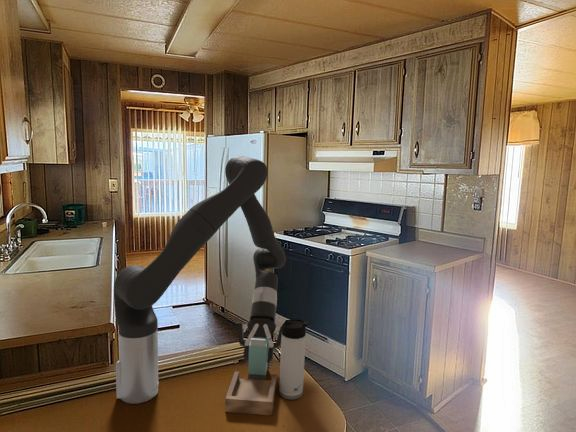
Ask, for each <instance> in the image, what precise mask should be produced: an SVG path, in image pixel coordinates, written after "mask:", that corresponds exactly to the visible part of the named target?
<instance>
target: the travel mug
mask: <svg viewBox="0 0 576 432" xmlns="http://www.w3.org/2000/svg"><path fill="white" fill-rule="evenodd" d="M308 323H309V322H308V321H305V320H303V319H300V318H292V319H287V320H286V321H284V322H283V323H282V325H281V326H282V337H281V346H280V361H279V363H280V364H279V385H278V386H279V389H278V393H279V395H280V396H281V397H282V398H284V399H286V400H297V399H299V398H301V397H302V396H303V395H304V393H303V392H304V375H305V360H306V359H305V356H306V354H305V353H306V339H307V338H306V331H307V327H308V325H309V324H308Z"/></svg>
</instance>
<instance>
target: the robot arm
mask: <svg viewBox="0 0 576 432" xmlns="http://www.w3.org/2000/svg"><path fill="white" fill-rule="evenodd" d="M224 170H225V171H224V173H225V177H226V180H227V183H228V185H226V187H225V188H224V189H222V190H221V191H219V192H217V193H215V194H214V195H211V196H209V197H207V198H205V199H203V200H201V201H199V202H198V203H195V204H194V205H193V206H192V207H191V208H190V209H188V210H187V211H186V212H185V214H184V215H182V216H181V218H180V219H179V220H178V221H177V222H176V224H175V225H174V226H173V228H172V231H171V232H170V235H169V237H168V239H167V241H166V244H165V246H164V248H163V249H162V251H161V252H160V253H159V254H158V256H157V257H155V259H154V260H152V262H151V263H150V264H148V266H146V267H144V266H141V265H138V264H134V265H133V264H131V265H128V266H126V267H124V268H123V269H121V270H120V271H119V272H118V274H117V275H116V277H115V280H114V283H113V300H114V301H113V303H114V316H115V321H116V323H117V329H118V330H117V331H118V360H117V361H116V362H115V383H116V384H115V385H116V386H115V387H116V389H115V390H116V399H119V400H121V401H123V402H124V403H126V404H132V405H134V404H142V403H145V402H148V401H150V400H153V398H154V397H156V396H157V395H158V394H159V393H158V392H159V337H158V336H159V333H158V332H159V331H158V330H159V326H158V325H159V323H158V317H157V315H156V313H155V310H154V308H153V305H155V304H156V303H157V302H158V301H159V300H160V298H161V297H162V296H163V295H164V294H165V293H166V291H167V289H168V288H170V286H171V284H172V283H173V282H174V280H175V279H176V277H177V276H178V275H179V274H180V273H181V271H182V270H183V269H184V268H185V266H186V265H188V263H189V262H190V261H191V260H192V259H193V258H194V257H195V255H196V254H197V253H198V252H199V251H200V250H201V249H202V248H203V247H204V246H205V245H206V244H207V243H208V241H210V240H211V239H212V237H213V236H214V235H215V234H216V233H217V232H218V230H220V228H221V227H222V226H223V225H224V224H225V223H226V221H228V220H229V219H230V218H231V216H233V215H234V213H236V211H237V210H238V209H239V208H240V209H241V212H242V214H243V215H244V218H245V220H246V223H247V226H248V230H249V232H250V235H251V236H250V237H251V238H252V243H253V244H254V246H255V247H256V248H257V249H256V250H255V251H254V253H253V255H252V258H253V266H254V271H255V272H254V273H255V283H254V290H253V295H252V300H251V301H252V302H251V306H250V307H251V308H250V315H249V321H248V322H247V323H244V324H243V323H241V322H239V323H238V324H237V325H238V326H237V327H238V329H237V330H238V331H237V332H238V333H237V335H238V343H239V346H241V347H243V348H244V349H243V355H242V356H243V360H245V362H246V363H249V344H250V341H251V338H253V337H267V340H268V357H267V363H268V364H271V362H273V358H274V351H275V350H276V349H281V337H282V325H281V326H278V325H276V315H277V305H278V304H277V303H278V302H277V301H278V284H279V277H278V275H277V274H276V273H275V272H272V271H267V270H275V269H281V268H283V267H284V266H285V264H286V261H287V258H286V257H287V256H286V253H285V250H284V249H283V247H282V246H281V244H280V242H279V241H278V239H277V238H276V236H275V233H274V229H273V226H272V223H271V220H270V218H269V216H268V213H267V212H266V210H265V209H264V207H263V206H262V205H261V203H260V201H259V200H258V198H257V196H256V193H257V192H258V191H259V190H260V189H261V188H262V187H263V186H264V184H265V183H266V180H267V177H268V174H269V173H268V167H267V165H266V164H265V162H264V161H263V160H260V159H258V158H253V157H249V156H244V155H243V156H240V155H235V156H233V157H231V158H230V159H229V160H228V161H227V163H226V165H225V169H224ZM247 329H248V331H249V332H250V333H249V334H248V336H247V339H246V340H244V339H245V338H244V333H246V330H247ZM275 331H276V334H277V338H276V341H275V342H273V339H272V334H273V333H274V332H275Z"/></svg>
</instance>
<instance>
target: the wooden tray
mask: <svg viewBox="0 0 576 432" xmlns="http://www.w3.org/2000/svg"><path fill="white" fill-rule="evenodd" d="M277 376H278V375H277V374H275V373H272V374H271V379H270V380H266V379H265V380H253V379H248V378H240V371H238V370H236V371H234V372H233V375H232V379H231V382H230V385H229V387H228V391H227V393H226V394H225V395H226V396H225V399H224V400H225V401H224V402H225V403H224V406H225V407H224V413H237V414H251V415H264V416H273V409H274V404H275V396H276V391H277V390H276V389H277Z"/></svg>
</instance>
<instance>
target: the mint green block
mask: <svg viewBox="0 0 576 432" xmlns="http://www.w3.org/2000/svg"><path fill="white" fill-rule="evenodd" d="M268 348H269V344H268V340H267V337H253V338H251V341H250V344H249V360H248V367H247V369H248V371H247V379H253V380H266V379H267V374H268V364H269V363H267V357H268Z"/></svg>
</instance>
